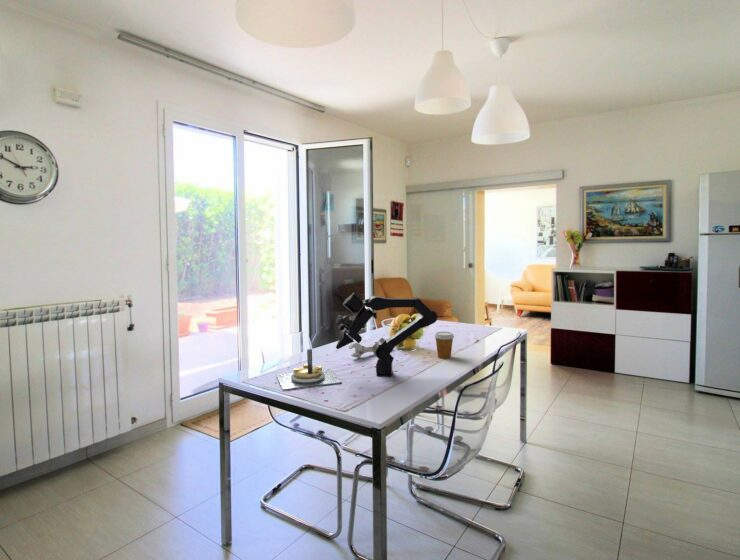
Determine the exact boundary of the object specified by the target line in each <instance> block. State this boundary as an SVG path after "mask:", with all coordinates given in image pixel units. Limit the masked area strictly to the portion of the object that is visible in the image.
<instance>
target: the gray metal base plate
mask: <svg viewBox="0 0 740 560" xmlns="http://www.w3.org/2000/svg"><path fill="white" fill-rule="evenodd" d="M276 378H278V379H277V380H278V382H279V386H280V385H281V386H280V388H281V390H282V391H283V390H285V391H291V389H293V390H298V389H297V388H301V389H307V388H306V387H309V388H314V387H315V386H317V387H325V386H330V385H331V386H332V385H339V384H342V383H343V382H342V380H341V379H340V378H339V377H338V376H337V375H336V374H335V373H334V372H333V371H332V369H331V368H325V369H322V375H321V376H320V377H317V378H313V379H298V378H295V377H294V372H290V373H289V372H288V373H282V374H281V373H280V374H276ZM315 388H316V387H315Z"/></svg>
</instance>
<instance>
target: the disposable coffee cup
mask: <svg viewBox="0 0 740 560" xmlns="http://www.w3.org/2000/svg"><path fill="white" fill-rule="evenodd" d="M454 337H455V335H454V333H453V332H451V331H437V332H435V335H434V339H435V344H436V345H435V346H436V351H437V357H438V358H439V359H450V358H451V357H452V349H453V342H454V341H453V340H454Z"/></svg>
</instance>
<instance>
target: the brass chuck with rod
mask: <svg viewBox="0 0 740 560" xmlns="http://www.w3.org/2000/svg"><path fill="white" fill-rule="evenodd" d="M306 359H307V362H306V363H303V364H302V366H300V367H296V368H293V372H292V373H294V377H295V378H298V379H313V378H317V377H320V376H321V375H322V370H323V367H322V365H313V349H312V348H307V349H306Z"/></svg>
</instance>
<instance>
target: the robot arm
mask: <svg viewBox="0 0 740 560" xmlns="http://www.w3.org/2000/svg"><path fill="white" fill-rule="evenodd" d="M342 306H343V307H345V308H346V310H348V311H350V312H351V314H354V313H355V314H356V315H355V316H352V317H350V316H349V315H348V316H347V315H344V316H343V315H340V314H338V315H337V318H336V320H335V323H337V324H339V325H338V326H337V328H338V329H340V336H339V339H338V342H337V344H336V346H335V348H336V350H339V349H341V348H343V347H346V346H347V345H349V344H352V343H354V342H355V343H358V344H360V343H361V342H362V341H363V340H362V339H363V338H362V336H361V335H360V334H359V333H360V332H361V330H363V329H365V328H366V324H368V322H369V321H370V319H372V318H373V319H375V320H377V319H378V316H377V314H378V312H377V311H383V310H386V309H392V308H393V309H394V308H396V309H397V308H414V309H415V311H416V312H417V313H418V314H417V315H416V316H415V319H414V320H413V321H411V322H410V323H408V324H407V325H406V326H404V327H403V328H402V329H400V330H399V331H397V332H396V333H394V334H392V335H391V336H390V337H389V338H386V339H385V337H381V338H380V339H378V340H377V341H374V344H373V345H372V346H373V349H372V350H373V352H372V353H373V354H374V355H375V356H376V357H377V361H376V364H375V373H376V377H377V376H379V377H392V375H393V374H394V370H393V361H394V356H393V355H391V353H392V351H393V350H394V349H395V348H396V347H397V346H398V345H400V344H401V343H402V342H404V341H405V340H407V339H408V338H409V337H410V336H412V335H413V334H415V333H416V332H417V331H419V330H421V329H422V328H426V327H429V326H431V325H433V324H435V323H436V322H437V320H438V314H437V312H436V311H434V310H431V309H430V308H429V307H428V306H426V304H425V303H424V302H423V301H422V300H421V299H420V298H417V297H413V298H412V297H411V298H409V297H408V298H406V297H404V298H400V297H397V298H394V297H393V298H390V297H384V296H383V297H382V296H379V295H371V296H369V298H366V299H361V298H359V296H358V295H357V294H356V293H355V292H352V294H350V295H349V296H348V297H346V298H345V300H344V301H343V303H342Z"/></svg>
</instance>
